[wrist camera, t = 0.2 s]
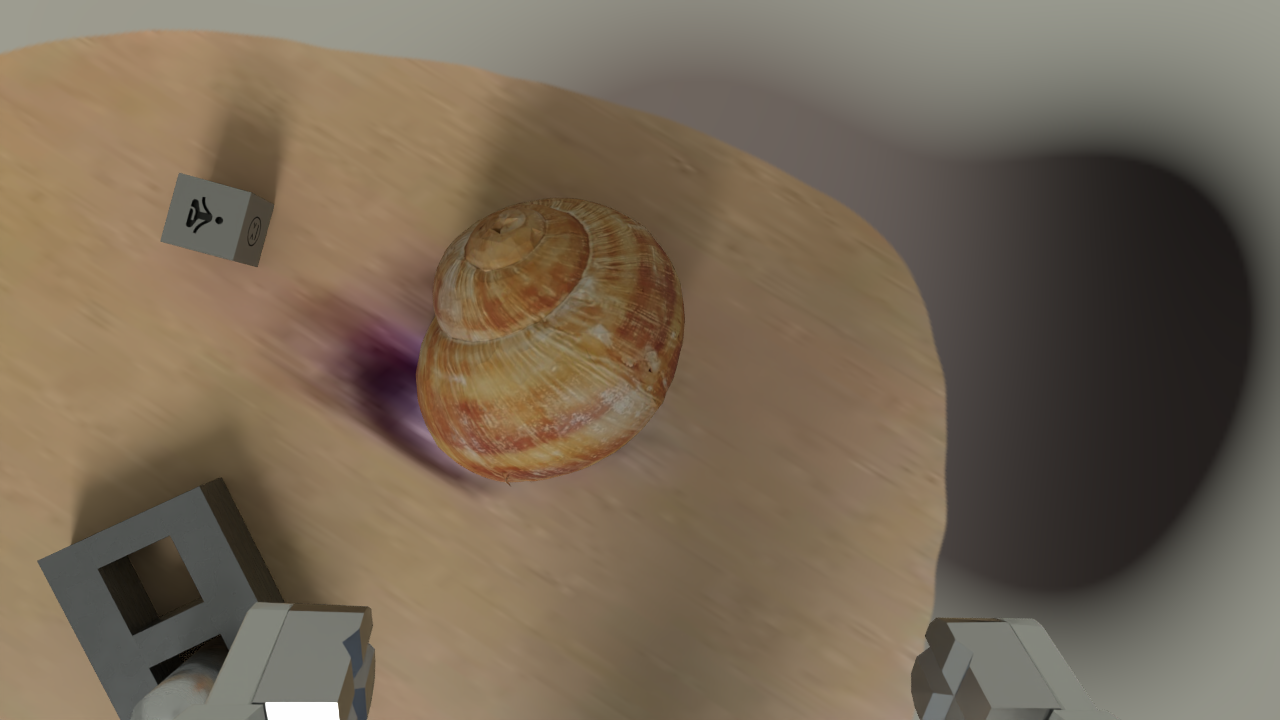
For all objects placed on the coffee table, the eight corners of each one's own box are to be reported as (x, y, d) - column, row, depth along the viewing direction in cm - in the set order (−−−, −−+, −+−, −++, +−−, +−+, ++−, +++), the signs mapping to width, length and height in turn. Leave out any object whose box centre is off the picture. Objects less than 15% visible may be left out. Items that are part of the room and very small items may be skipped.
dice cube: (208, 186, 62) (179, 172, 57) (274, 204, 63) (251, 192, 58) (191, 249, 62) (160, 241, 57) (257, 267, 63) (232, 260, 58)
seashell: (690, 470, 65) (676, 512, 50) (441, 465, 67) (357, 503, 52) (691, 208, 64) (677, 170, 49) (439, 212, 66) (354, 177, 52)
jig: (325, 683, 64) (284, 745, 54) (178, 755, 62) (109, 833, 52) (221, 477, 62) (159, 502, 52) (70, 547, 61) (-23, 585, 51)
